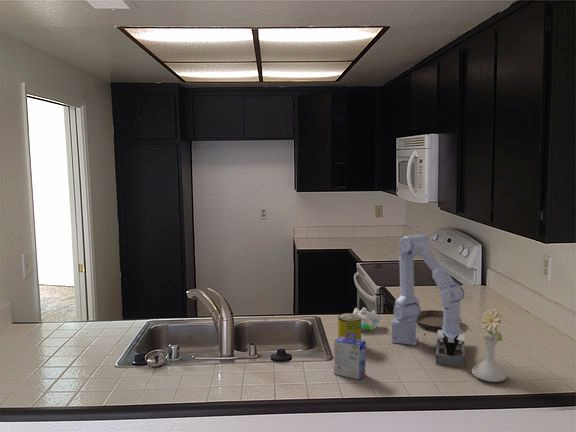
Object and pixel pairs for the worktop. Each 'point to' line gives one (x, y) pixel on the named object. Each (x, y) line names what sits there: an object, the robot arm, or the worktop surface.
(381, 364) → the worktop surface
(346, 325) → the yellow tin can
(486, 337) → the flower in vase
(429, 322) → the plant saucer
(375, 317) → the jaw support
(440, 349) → the housing
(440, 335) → the lid
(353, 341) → the ink cartridge box
